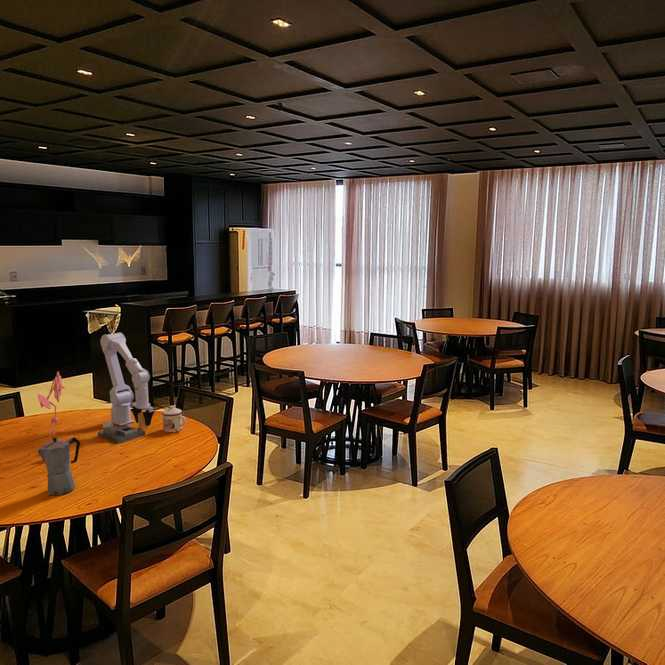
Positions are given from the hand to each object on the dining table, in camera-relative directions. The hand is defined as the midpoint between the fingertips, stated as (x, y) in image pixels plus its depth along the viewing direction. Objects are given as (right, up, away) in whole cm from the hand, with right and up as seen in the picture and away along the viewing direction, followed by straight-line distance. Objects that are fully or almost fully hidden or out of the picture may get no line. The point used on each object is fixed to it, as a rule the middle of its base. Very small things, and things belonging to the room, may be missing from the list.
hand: (143, 423), depth 279 cm
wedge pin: (0, -2, 0) cm, 2 cm away
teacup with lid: (+16, -3, -3) cm, 17 cm away
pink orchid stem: (-22, -7, -34) cm, 41 cm away
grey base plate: (-6, -4, -11) cm, 13 cm away
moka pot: (-7, -13, -69) cm, 71 cm away
